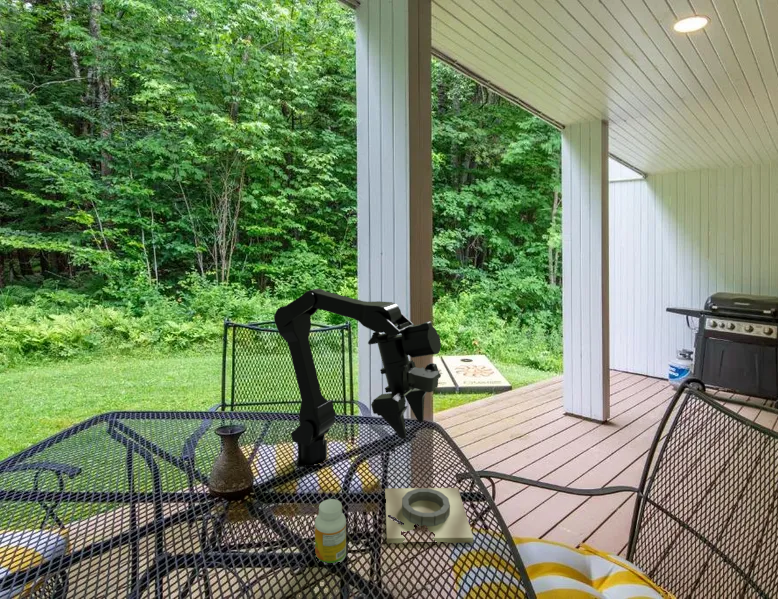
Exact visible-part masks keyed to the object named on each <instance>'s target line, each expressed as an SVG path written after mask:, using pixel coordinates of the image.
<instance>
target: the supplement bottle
mask: <svg viewBox="0 0 778 599" xmlns="http://www.w3.org/2000/svg"><path fill="white" fill-rule="evenodd" d="M314 546H315V548H314V549H315V552H314V553H315V554H316V555H315V558H316V557H317V558H318V559H319V560H320V561H322V562H327V563H335V562H340V563H342V562H343V561H344V560H345V558H346V555H347V518H346V516H345V514H344V513H343V505H342V502H341V501H340V500H338V499H335V498H329V499H325V500H323V501H321V502H320V503H319V506H318V514H317V516H316V517H315V520H314Z"/></svg>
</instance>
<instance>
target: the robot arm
mask: <svg viewBox="0 0 778 599" xmlns="http://www.w3.org/2000/svg"><path fill="white" fill-rule="evenodd" d="M318 310H321V311H325V312H328V313H332V314H335V315H339V316H342V317H346V318H349V319H353V320H355V321H357V322H359V324H361V325H362V327H365V328H367V329H368V330H370V331H373V333H372V336H371V338H370V339H369V341H368V342H367V344H368V345H375V344H377V347H378V349H379V354H380V358H381V362H382V365H383V367H382V368H380V374H381V375H385V379H386V382H387V386H386V387H384V390H385V393H382V394H379V396H377V397H375V398H374V399H373V400H372V402H371V404H370V406H371V410H372V414H374V415H377V416H380V417H382V419H383V420H384V421H386V423H387V424H388V425H389V426H390V427H391V428H392V430H393V431H394V432H395V433H396V434H397V435H398V437H399V438H400V439H401V440H405V439H406V438H407V430H406V423H405V416H404V414H405V412H406V411H407V409H408V405H409V407H410V409H411V411H412V413H413V415H414V416H415V419H416V420H417V421H418V423H423V422H424V419H425V418H424V417H425V416H424V414H425V411H424V410H425V399H426V398H425V396H426V394H427V393H432V392H434V390H435V389H436V388H438V386H439V379H440V378H441V376H442V375H441V373H440V370H439V368H438V366H437V363H433V362H429V363H428V364H426V366H425V367H423V366H422V367H417V366H416V363H415V361H413V360H410V358H412V359H413V358H418V357H426V356H433V355H438V354H439V353H440V351H441V347H442V346H441V342H442V341H441V337H440V334H438V331H437V330H436V328H435V327H434V326H433V323H432V321H425V322H423V323H420V324H415V323H413V322H412V321H411V320H410V319H409V318H408V317H407V316H406V315H405V314H404V313H403V312H401V311H402V310H401V309H400V307H399V305H398V304H397V303H395V302H393V301H380V300H379V301H365V300H361V299H356V298H353V297H348V296H346V295H341V294H337V293H333V292H330V291H326V290H324V289H322V288H314V289H309V290H306V292H304V293H303V294H302V295H301V296H299V297H298V298H296V299H294V300H293V301H291V302H289V303H288V304H286V305H284V306H280V307H278V308H277V309H276V312H275V313H274V316H273V319H274V323H275V326H276V328H277V331H278V334H279V335H280V336H281V337H282V339H283V340H284V341H285V342H286V343H287V345H288V349H289V353H290V356H291V361H292V365H293V369H294V373H295V378H296V381H297V387H298V390H299V394H300V398H301V403H300V407H299V408H300V409H299V412H298V418H299V419H298V420H299V425H298V426H297V427H296V428H295V429H294V430H293V431H292V432H291V433H290V436H291V439H292V442H293V443H295V444H296V443H297V460H296V466H297V467H312V466H311V465H314V464H318V463H321V462H323V461H324V460H325V461H326V460H327V457H328V440H326V438H325V435H326V434H327V433H328V434H329V432H330V429H331V428H332V427H333V425H334V424H335V422H336V418H335V417H336V416H337V413H336V412H335V409H334V402H333V400H332V399H331V400H327V399H326V398H325V397H324V395H323V394H322V391H321V387H320V386H321V385H320V382H319V378H318V373H317V370H316V369H317V368H316V365H315V361H314V360H315V359H314V357H313V353H312V348H311V345H310V341H309V340H310V339H309V337H310V332H311V329H312V321H311V317H312V316H313V315H314V314H316V313H317V312H318ZM409 357H410V358H409ZM406 402H407V403H408V405H406ZM325 461H324V462H325Z"/></svg>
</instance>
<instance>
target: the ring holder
mask: <svg viewBox="0 0 778 599" xmlns="http://www.w3.org/2000/svg"><path fill="white" fill-rule="evenodd" d="M384 497H385V499H386V503H385V525H386V528H385V529H386V530H385V531H386V532H385V533H386V544H404V543H403V541H404V540H405V539H406V538H405V537H404V536H403V535H401V531H404V532H407V531H410V530H413V529H415V527H414V525H415V524H418V525H419V526H423V525H426V526H427V528H428V530H429V531H430V532H433V533H434V534H435V537H434V538H432V540H433V539H434V540H435V541H437V543H436V544H441V543H440V542H447V543H446V544H448V543H449V544H451V543H452V544H453V543H455V544H456V543H458V544H459V543H466V544H467V543H474V535H473V531H472V529H471V525H470V523H469V519H468V516H467V514H466V510H465V506H464V502H463V501H462V497H461V494H460V490H459V487H420V488H419V487H413V488H412V487H409V488H408V487H406V488H405V487H403V488H401V487H398V488H397V487H396V488H395V487H393V488H384ZM388 515H391V516H393V517H395V518H396V519H398V520H400V521H401V522H403V523H404V525H401V524H398V523H397V522H395V521H393V520H391V519H390V518H389V517H388Z"/></svg>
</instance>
